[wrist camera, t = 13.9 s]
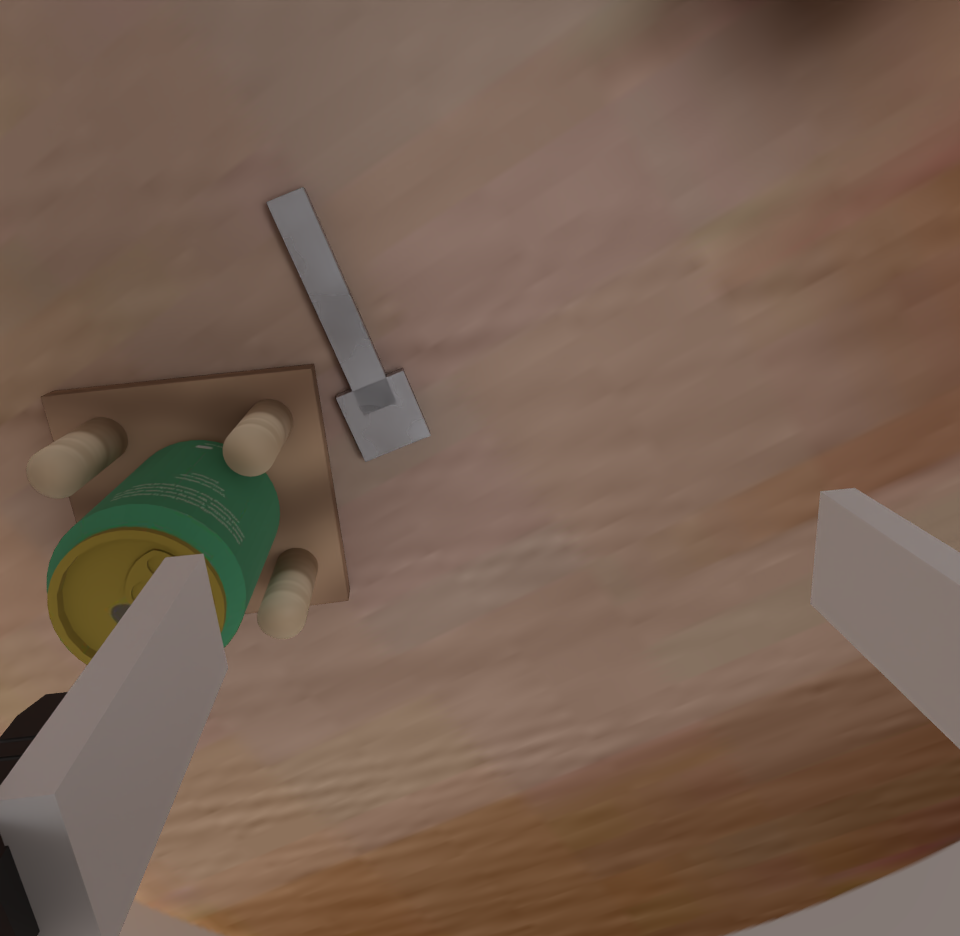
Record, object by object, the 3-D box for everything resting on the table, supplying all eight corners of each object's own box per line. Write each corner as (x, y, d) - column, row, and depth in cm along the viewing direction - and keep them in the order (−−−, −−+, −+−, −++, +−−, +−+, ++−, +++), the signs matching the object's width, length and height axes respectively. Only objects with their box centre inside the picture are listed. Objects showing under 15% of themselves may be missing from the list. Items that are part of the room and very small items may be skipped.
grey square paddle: (252, 210, 38) (248, 209, 37) (323, 181, 38) (321, 179, 37) (366, 455, 43) (365, 461, 42) (429, 430, 43) (430, 435, 42)
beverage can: (110, 528, 41) (-2, 643, 29) (173, 407, 39) (82, 479, 28) (242, 591, 43) (186, 721, 31) (308, 479, 41) (274, 573, 30)
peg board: (53, 390, 40) (-22, 425, 32) (313, 363, 41) (296, 391, 34) (116, 618, 44) (62, 692, 37) (350, 589, 45) (340, 655, 38)
